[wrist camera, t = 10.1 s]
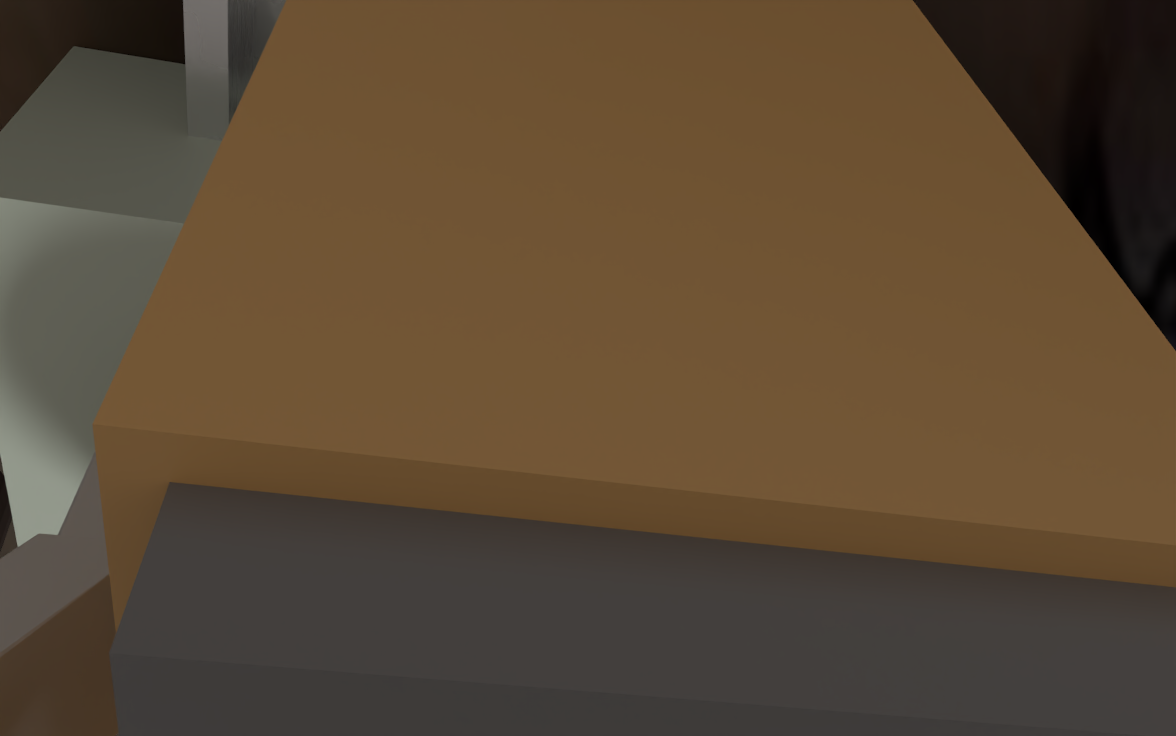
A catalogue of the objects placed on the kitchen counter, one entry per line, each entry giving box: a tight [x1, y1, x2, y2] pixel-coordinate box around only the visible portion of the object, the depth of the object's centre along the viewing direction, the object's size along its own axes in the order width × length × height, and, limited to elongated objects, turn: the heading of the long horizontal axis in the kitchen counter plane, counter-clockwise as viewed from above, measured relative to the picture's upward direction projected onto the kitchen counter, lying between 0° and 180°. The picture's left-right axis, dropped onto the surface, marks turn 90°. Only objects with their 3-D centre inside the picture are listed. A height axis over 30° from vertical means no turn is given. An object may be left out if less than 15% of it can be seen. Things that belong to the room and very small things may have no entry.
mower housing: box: [0, 46, 222, 547], centre depth 29 cm, size 16×13×13 cm
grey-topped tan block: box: [92, 0, 1176, 736], centre depth 9 cm, size 4×10×9 cm, turn 169°
